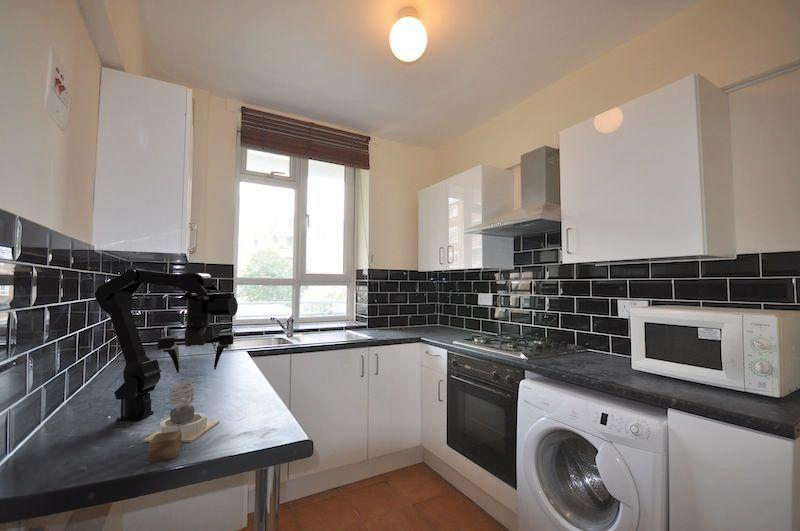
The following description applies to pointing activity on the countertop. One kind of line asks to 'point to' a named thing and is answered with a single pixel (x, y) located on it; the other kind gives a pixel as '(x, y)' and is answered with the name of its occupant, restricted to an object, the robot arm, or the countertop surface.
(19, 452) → the countertop surface
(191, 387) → the light bulb
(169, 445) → the walnut block
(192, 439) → the socket
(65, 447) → the countertop surface
